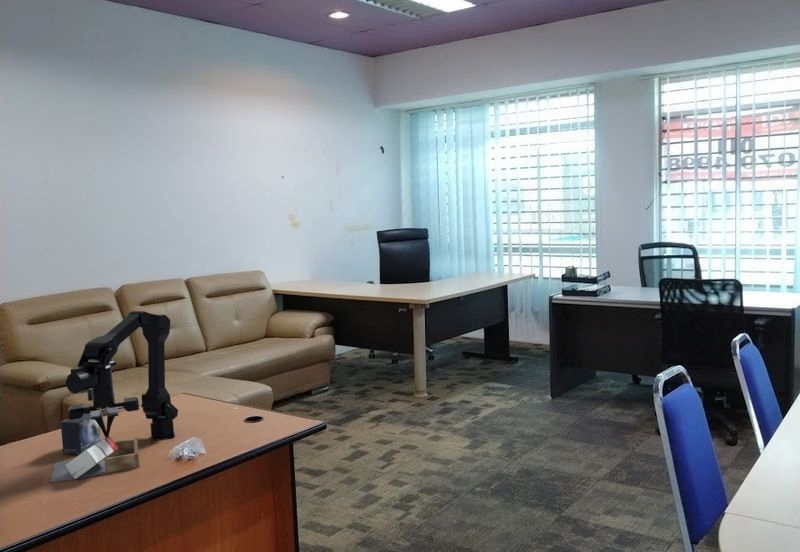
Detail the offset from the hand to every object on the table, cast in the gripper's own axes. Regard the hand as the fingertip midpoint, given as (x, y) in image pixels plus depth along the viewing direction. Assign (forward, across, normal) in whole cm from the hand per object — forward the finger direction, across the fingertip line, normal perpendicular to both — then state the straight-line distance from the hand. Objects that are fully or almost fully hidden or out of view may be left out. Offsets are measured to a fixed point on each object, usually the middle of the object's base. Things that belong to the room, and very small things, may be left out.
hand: (106, 436), depth 207 cm
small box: (+8, +8, -18) cm, 21 cm away
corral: (+8, -3, 0) cm, 9 cm away
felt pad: (+8, +8, 0) cm, 11 cm away
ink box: (+4, +1, 0) cm, 4 cm away
